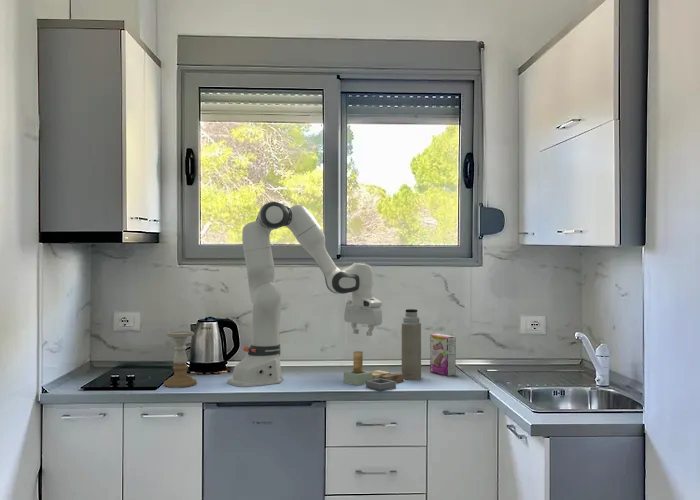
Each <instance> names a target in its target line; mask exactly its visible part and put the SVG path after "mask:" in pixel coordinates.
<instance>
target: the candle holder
mask: <svg viewBox="0 0 700 500" xmlns="http://www.w3.org/2000/svg"><path fill="white" fill-rule="evenodd" d="M194 335H195V332H194V331H190V330H177V331H175V330H174V331H169V332H167V333H166V335H165V336H167V337H168V338H169V337H170V338H172V339H173V340H174V343H175V346H173V349H174V356H173V358H172V361H173V364H174V365H173V366H172V367H171V368H172V369H173V370H174V373H173V376H171V377H168V378H167V379H166V380H165V381H163V386H164V385H165V386H164V387H166V386H167V387H166V388H171V387H181V388H188V387H187V386H189V387H193V386H195V385H197V380H196V379H195V378H193V377H192V376H190V375H188V373H187V370H188V368H189V366H188V365H187V363H188V361H189V360H188V355H187V351H186V349H188V346H187V345H186V341H187V340H188V338H189V337H193V336H194ZM192 385H193V386H192Z"/></svg>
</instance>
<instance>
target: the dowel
mask: <svg viewBox="0 0 700 500" xmlns="http://www.w3.org/2000/svg"><path fill="white" fill-rule="evenodd" d="M352 354H353V356H352V357H353V358H352V359H353V360H352V361H353V364H352V365H353V369H352V371H353V373H356V374H360V373H363V371H364V370H363V368H364V367H363V362H364V361H363V359H364V357H363V356H364V355H363V354H364V353H363V351H360V350H359V351H358V350H357V351H353V353H352Z"/></svg>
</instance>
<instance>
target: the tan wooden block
mask: <svg viewBox="0 0 700 500" xmlns="http://www.w3.org/2000/svg"><path fill="white" fill-rule="evenodd" d="M370 372H372V380H374V379H380V376H383V375H389V374H392V373H391V372H389V371H384V370H379V369H378V370H372V371H371V370H370Z"/></svg>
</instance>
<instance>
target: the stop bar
mask: <svg viewBox="0 0 700 500" xmlns="http://www.w3.org/2000/svg"><path fill="white" fill-rule="evenodd" d="M380 378H382V379H387V380H391V381H396V384H399V383H404V382H405V379H404V374H402V372H401V373H400V372H396V373H391V374H389V375H383V376H380Z"/></svg>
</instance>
